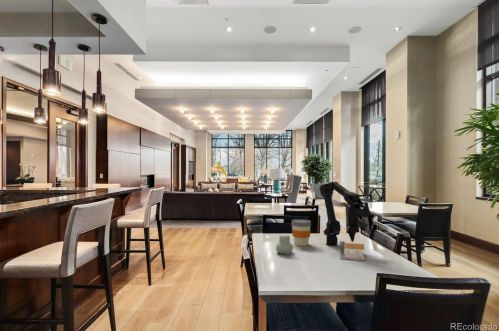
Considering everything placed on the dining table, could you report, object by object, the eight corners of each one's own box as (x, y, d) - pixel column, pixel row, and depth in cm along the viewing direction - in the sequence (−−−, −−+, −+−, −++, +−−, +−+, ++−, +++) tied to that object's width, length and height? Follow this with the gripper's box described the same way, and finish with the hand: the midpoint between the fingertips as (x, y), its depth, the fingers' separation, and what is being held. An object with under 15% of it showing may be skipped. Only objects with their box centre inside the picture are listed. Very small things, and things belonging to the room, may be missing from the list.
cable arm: (339, 248, 161) (339, 242, 161) (339, 247, 163) (339, 241, 163) (364, 250, 157) (364, 244, 157) (363, 249, 160) (363, 242, 160)
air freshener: (289, 256, 156) (289, 238, 157) (275, 254, 159) (275, 236, 159) (293, 251, 167) (293, 234, 167) (279, 249, 170) (279, 233, 170)
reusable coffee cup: (313, 243, 186) (313, 220, 186) (306, 247, 175) (306, 223, 176) (296, 240, 193) (296, 218, 193) (288, 244, 182) (288, 221, 182)
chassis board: (340, 258, 152) (340, 253, 152) (339, 249, 171) (339, 244, 172) (364, 261, 149) (364, 255, 149) (361, 251, 168) (361, 246, 168)
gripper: (369, 218, 155) (369, 246, 155) (365, 213, 173) (365, 239, 172) (347, 217, 158) (347, 245, 158) (346, 212, 176) (346, 237, 176)
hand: (352, 241), depth 166 cm, fingers closed
